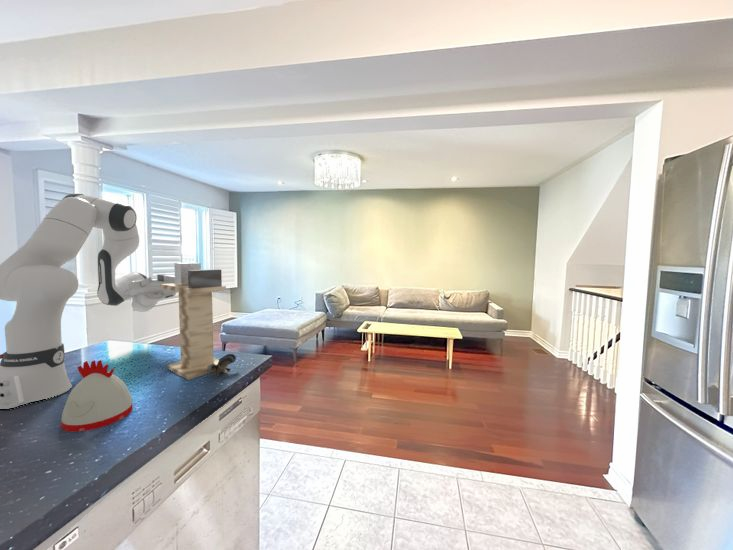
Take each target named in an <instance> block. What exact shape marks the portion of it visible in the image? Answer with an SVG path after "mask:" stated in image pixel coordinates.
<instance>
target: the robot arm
mask: <svg viewBox="0 0 733 550" xmlns="http://www.w3.org/2000/svg"><path fill="white" fill-rule="evenodd" d="M137 219H138V218H137V213H136V210H134V208H133V207H132V206H130V205H129V204H127V203H123V202H118V201H115V200H111V199H107V198H103V197H100V196H95V195H85V194H83V193H70V194H66V195H65V196H64V197H63V198H62V199H61V200H60V201H58V202H57V203H56V205H54V206H53V207H52V209H50V210H49V212H48V213H47V214H46V215H45V217H44V218H43V219H42V221H41V223H40V224H39V225H38V226H37V228H36V229H35V231H34V232H33V234H31V235H30V238H28V240H27V241H26V242H25V243H24V244H23V245H22V246H21V247H19V248H18V249H17V250H16V251H14V253H12V254H11V255H10V256H9V257H8V258H6V259H5V260H4V261H3V262H2V263H0V300H2V301H5V302H6V301H7V302H16V304H15V305H16V306H15V309H14V314H13V315H12V317H11V319H10V320H8V321H7V322H6V323H5V325H4V335H5V348H6V351H5V352H3V353H1V354H0V359H1V360H0V407H2V408H11V407H15V406H18V405H22V404H24V403H29V402H33V401H38V400H42V399H46V400H48V399H47V398H49V399H51V398H50V397H52V398H54V396H55V397H57V395H58V396H60V395H63V394H65V393H67V392H68V391H70V390H71V389H72V387H73V385H72V383H71V381H70V379H69V377H68V374H67V370H66V366H65V362H64V361H65V346H64V344H65V343H63V342H62V318H63V312H64V309H65V306H66V304H67V303H68V301H69V300H70V298H72V297H74V295H75V294H76V292H77V290H78V289H79V279H78V277H77V276H76V274H75V273H74V272H72V271H71V270H69V269H67V268H62V266H63V265H64V264H66V263H68V262H70V261H72V260H73V259H75V258H76V257H77V255H78V254H79V252H80V251H81V249H82V247H84V244H85V242H87V239H88V237H89V236H90V234H91V232H92V230H93V228H96V229H100V230H102V233H103V244H102V248H101V249H100V251H98V254H97V274H98V275H97V276H98V285H97V286H98V287H97V291H96V293H97V297H98V299H99V300H100V302H101V303H103V304H104V305H107V306H116V307H117V306H119V305H120V304H122V303H124V302H125V301H127V300H130V298H131V306H132V309H133V310H135V312H139V313H146V312H149V311H150V310H152V309H153V308H154V307H155V306H156V305H157V304H158V302H160V301H162V300H164V299H168V298H171V297H172V298H173V297H176V295H177V293H178V291H173V290H168V289H163V288H160V284H170V282H162V281H158V280H157V279H153V278H152V277H151V276H149V277H148V276H146V275H145V274H142V273H140V272H136V271H133V272H132V271H131V272H130V273H128V274H126V275H123V276H121V277H119V278H116V269H117V267H118V265H119V264H121V262H122V261H124V260H126V258H127V257H129V256H130V255H132V254H133V253H135V252H136V250H138V248H139V246H140V245H139V244H140V235H139V231H138V227H137ZM70 388H71V389H70Z"/></svg>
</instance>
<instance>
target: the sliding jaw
mask: <svg viewBox="0 0 733 550" xmlns="http://www.w3.org/2000/svg"><path fill="white" fill-rule="evenodd" d="M201 265H202V264H201V262H174V275H172V274H165V273H164V274H156V277H157V279H156V280H158V281H162V282H170V283H175V285H180V286H184V285H188V270H202V268H201V267H202V266H201Z"/></svg>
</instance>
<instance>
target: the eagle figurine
mask: <svg viewBox="0 0 733 550" xmlns="http://www.w3.org/2000/svg"><path fill="white" fill-rule="evenodd" d="M236 358H237V356H236V355H235V354H232V353H228V354H226V355H224V356H222V357H220V358H219V359H218V360H219V361H218V364H217V365H215V364H214V363H212V364H210V365H208V366H207V369H208V370H215V371H214V372H211V374H215V377H214V378H215V379H217V378H218V376H219V375H220V373H225V374H227V375H229V371H228V370H231V368H229V367H227V368H226V367H225V366H226V365H227V366H229V365H231V364H233V363H235V362H236V360H237V359H236Z"/></svg>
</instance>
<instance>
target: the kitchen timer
mask: <svg viewBox="0 0 733 550" xmlns="http://www.w3.org/2000/svg"><path fill="white" fill-rule="evenodd" d="M96 363H97V364H96ZM82 365H83V366H82ZM82 365H79V366H77V370H78V372H79V374H80V376H81V377H82V379H81V380H80V381H78V383H77V384H76V385H74V387H73V388H72V390H71V391H70V393H69V395H68V396H67V399H66V401H65V405H64V407H63V411H62V414H61V420H60V421H61V423H60V424H61V429H63V431H65V432H66V431H67V432H72V433H73V432H78V431H79V432H86V431H90V430H91V431H92V430H96V429H99V428H103V427H105V426H109V425H110V424H114V423H116V422H118V421H120V420H122V419H124V418H125V417H127V416H128V415H129V414H131V412H133V411H132V410H133V409H134V408H133V398H132V394H131V392H130V390H129V388H128V386H127V385H126V382H125V381H123V380H122V379H121V378H119V377H118V376H117V375H115V374H114V370H115V367H114V368H112V369H110V371H108V370H109V369H108V368H109V364H108V363H106V364H105V365H104V366H103V362H102V360H101V359H99V360H97V362H96V360H93V361H91V362H90V365H89V362H88V360H87V361H86V360H85V361H84V362H83V363H82Z"/></svg>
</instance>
